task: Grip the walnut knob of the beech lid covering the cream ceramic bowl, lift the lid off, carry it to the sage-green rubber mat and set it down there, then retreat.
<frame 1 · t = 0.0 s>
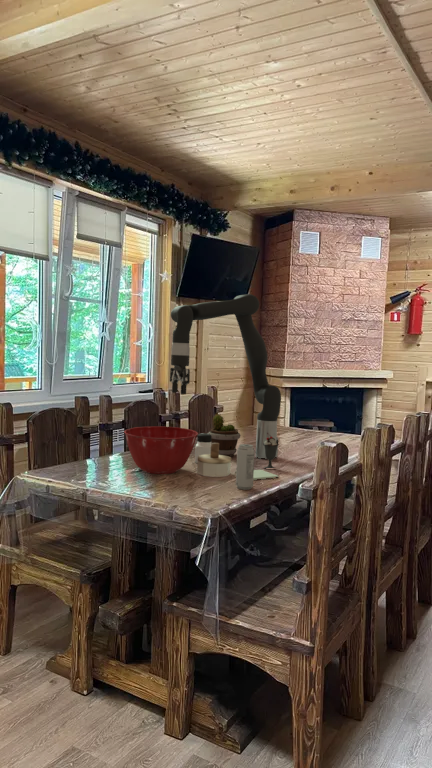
hand: (178, 393, 228), 29 cm above the table, tool pointing down, fingers open, 8 cm apart
medicine bottle: (203, 462, 236), on the table
bowl: (213, 473, 214), on the table
flowerpot: (223, 455, 254), on the table
lid: (214, 460, 214), point 5 cm above the table, touching bowl
mat: (256, 475, 213), on the table
mixing bowl: (159, 471, 215), on the table
energy drink can: (244, 488, 192), on the table
sundae: (269, 468, 228), on the table
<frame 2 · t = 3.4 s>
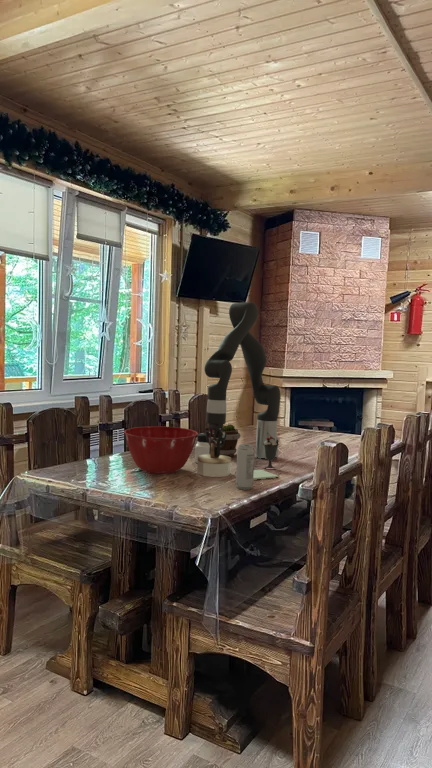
hand: (214, 455, 213), 7 cm above the table, tool pointing down, fingers closed on lid, 3 cm apart
lid: (214, 460, 214), point 5 cm above the table, touching bowl, gripper
everything else where it was.
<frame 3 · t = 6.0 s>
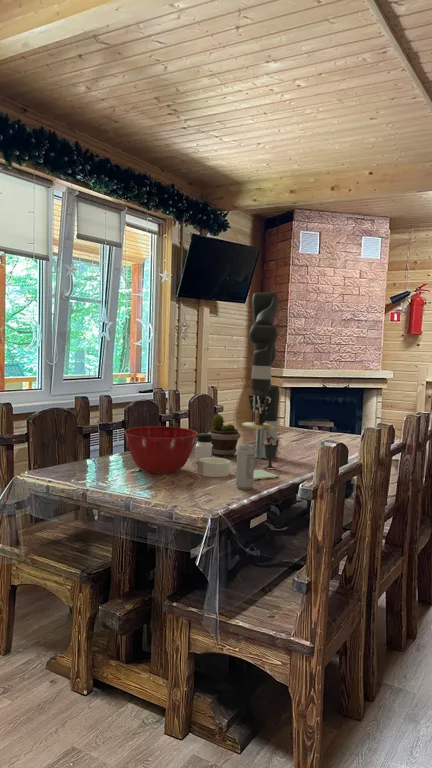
hand: (259, 422, 212), 21 cm above the table, tool pointing down, fingers closed on lid, 3 cm apart
lid: (258, 427, 212), point 19 cm above the table, touching gripper
everything else where it was.
when the fingers open (4 cm above the table, at t = 8.7 s): lid drops 2 cm, resting on mat.
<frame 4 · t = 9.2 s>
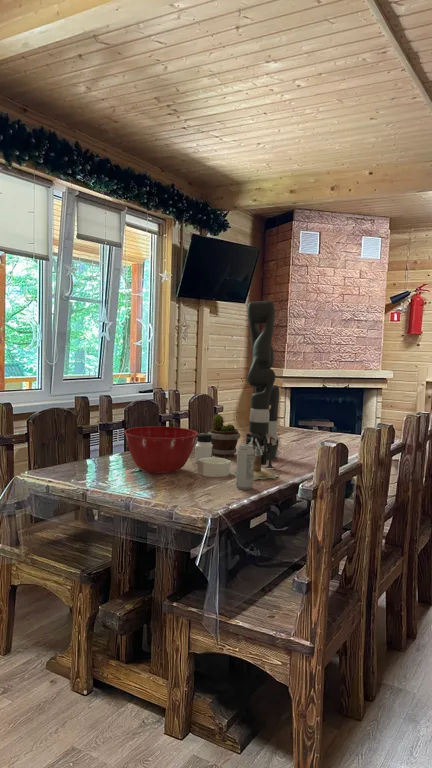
hand: (257, 462, 212), 5 cm above the table, tool pointing down, fingers open, 7 cm apart
lid: (256, 473, 213), point 1 cm above the table, touching mat
everything else where it was.
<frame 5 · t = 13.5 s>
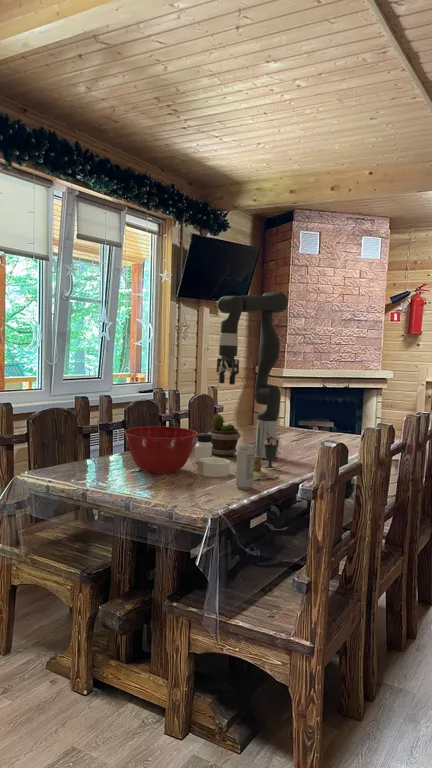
hand: (226, 383, 228), 34 cm above the table, tool pointing down, fingers open, 8 cm apart
nothing on the table moved.
at the end: lid inside the target area on the mat (0.0 cm from its centre), point 0.8 cm above the mat's base; lid touching mat; lid tilted 0° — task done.
